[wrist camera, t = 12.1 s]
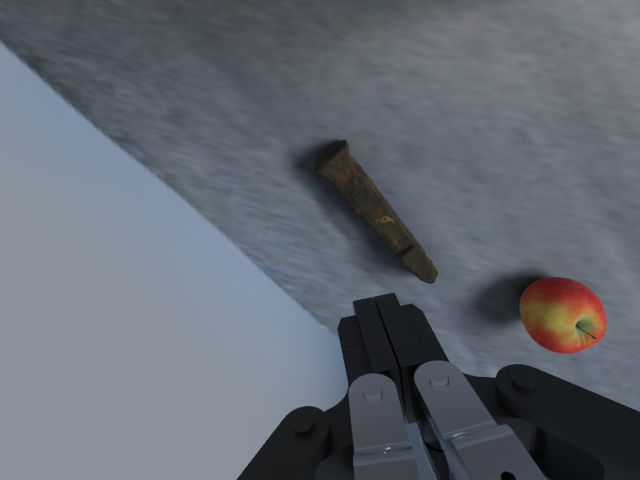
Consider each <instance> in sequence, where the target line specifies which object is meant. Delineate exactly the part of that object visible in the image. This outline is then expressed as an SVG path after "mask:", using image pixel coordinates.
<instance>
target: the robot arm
mask: <svg viewBox="0 0 640 480" xmlns="http://www.w3.org/2000/svg"><path fill="white" fill-rule="evenodd" d="M353 307H354V313H355V315H354V316H349V317H345V318H341V320H340V323H339V326H338V328H337V329H338V334H339V339H340V344H341V348H342V354H343V359H344V363H345V368H346V373H347V378H348V391H347V393H346V395H345V397H344V399H342V400H341V402H339V403H338V404H337V405H335V406H334V407H332V408H330V409H328V410H326V411H325V412H323V411H322V410H321V409H319V408H316V407H312V406H305V407H300V408H297V409H295V410H293V411H291V412H290V413H289V414H288V415H286V417H285V418H284V419H283V420H282V422H281V423H280V424H279V425H278V427H277V428H276V429H275V431H274V432H273V433H272V434H271V436H270V437H269V438H268V440H267V441H266V442H265V444H264V445H263V446H262V448H261V449H260V450H259V451H258V453H257V454H256V455H255V457H254V458H253V459H252V461H251V462H250V463H249V464H248V466H247V467H246V468H245V470H244V471H243V472H242V473H241V475H240V476H239V477H238V479H237V480H420V477H419V473H418V469H417V465H416V461H415V456H414V453H413V449H412V447H410V443H409V439H408V435H407V430H406V426H405V425H406V421H405V416H406V419H407V422H408V424H410V423H415V422H416V423H417V425H418V428H419V431H420V437H421V444H422V448H423V450H424V452H425V454H426V457H427V459H428V461H429V463H430V466H431V468H432V470H433V472H434V475H435V477H436V479H437V480H640V412H639V411H636V410H634V409H632V408H629V407H627V406H625V405H622V404H620V403H617V402H615V401H613V400H610V399H608V398H606V397H603V396H601V395H598V394H596V393H594V392H591V391H589V390H586V389H584V388H582V387H579V386H577V385H574V384H572V383H570V382H567V381H565V380H563V379H560V378H558V377H555V376H553V375H551V374H548V373H546V372H543V371H541V370H539V369H536V368H534V367H531V366H527V365H522V364H514V365H508V366H506V367H503V368H502V369H500V370H499V371H498V373H497V375H496V378H491V377H476V376H471V375H467V374H464V373H462V372H461V370H460V369H459V368H458V367H457V366H455V365H453V364H451V363H450V362H449V360H448V358H447V356H446V355H445V353H444V351H443V349H442V347H441V345H440V343H439V341H438V340H437V338H436V336H435V334H434V332H433V331H432V328H431V326H430V324H429V323H428V321H427V319H426V317H425V315H424V313H423V311H422V310H420V309H419V308H417V307H416V306H415V305H413V304H408V305H403V306H400V304H399V302H398V300H397V297H396V295H395V293H390V294H385V295H380V296H375V297H374V299H373V297H371V298H366V299H361V300H356V301H353Z"/></svg>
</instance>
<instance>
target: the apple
mask: <svg viewBox="0 0 640 480" xmlns="http://www.w3.org/2000/svg"><path fill="white" fill-rule="evenodd" d="M519 309H520V316H521V319H522V322H523V325H524V327H525V329H526V330H527V332H528V333H529V335H530V336H531V337H532V339H534V340H535V341H536V342H537V343H538V344H539V345H541V346H542V347H544V348H546V349H548V350H550V351H554V352H557V353H574V352H578V351H581V350H584V349H586V348H588V347H590V346H592V345H594V344H595V343H597V342H598V341H599V340H600V339H601V338H602V336H603V335H604V333H605V330H606V316H605V312H604V308H603V306H602V303H601V302H600V300H599V299H598V297H597V296H596V295H595V294H594V293H593V292H592V291H591V290H590V289H589V288H587V287H586V286H585V285H583V284H581V283H579V282H577V281H574V280H571V279H567V278H561V277H550V278H544V279H540V280H537V281H535V282H533V283H531V284H530V285H529V286H528V287H527V288H526V289H525V290H524V292H523V293H522V296H521V298H520V304H519Z"/></svg>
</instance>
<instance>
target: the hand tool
mask: <svg viewBox="0 0 640 480" xmlns="http://www.w3.org/2000/svg"><path fill="white" fill-rule="evenodd" d="M315 165H316V166H315V171H316V172H317V173H318V174H320V175H323V176H324V177H326V178H328V179H329V180H331V181H332V182H333V183H334V185H335V186H336V187H337V188H338V189H339V191H340V192H341V194H342V195H343V196H344V198H345V199H346V201H347V202H348V203H349V204H350V206H351V208H352V210H353V211H354V212H355V213H358V214H360V215H361V216H362V217H364V219H365V220H366V221H367V222H368V223H369V224H370V225H371V227H372V228H373V229H374V230H375V231H376V232H377V233H378V234H379V235H380V236H381V237H382V239H383V240H384V241H385V242H386V243H387V244H388V246H389V247H390V248H391V249H392V251H393V252H394V253H395V254H396V255H398V257H399V258H400V260H401V261H402V263H403V264H404V265H405V266H406V267H407V268H408V269H409V270H410V272H411V273H413V274H414V275H415V276H416V277H417V278H419V279H420V280H421V281H424V282H427V283H429V284H432V283H434V282H435V280H436V276H437V275H438V273H437V270H436V268H435V267H434V265H433V263H432V261H431V260H430V259H429V258H428V257H427V256H426V254H425V251H424V249H423V248H422V246H421V245H420V244H419V243H418V241H417V240H416V239H415V238H414V237H413V235H412V234H411V233H410V231H409V230H408V229H407V227H406V226H405V225H404V223H403V222H402V221H401V219H400V218H399V217H398V215H397V214H396V212H395V211H394V210H393V209H392V207H391V206H390V205H389V203H388V202H387V200H386V199H385V198H384V197H383V195H382V194H381V193H380V192H379V190H378V189H377V187H376V186H375V185H374V183H373V182H372V180H371V179H370V178H369V177H368V176H367V174H366V173H365V172H364V171H363V169H362V168H361V166H360V165H359V164H358V163H357V162H356V161H355V160H354V158H353V157H352V156H351V154H350V153H349V144H348V142H347V141H346V140H342V141H340V142H338V143H336V144H335V145H334V146H333V147H331V148H330V149H328V150H327V151H326V152H325V153H324V154H323V155H322V156H321V157H320V158H319V159H318V161H317V162H316V164H315Z"/></svg>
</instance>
